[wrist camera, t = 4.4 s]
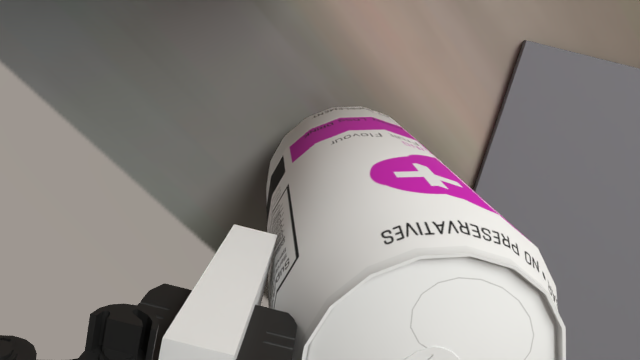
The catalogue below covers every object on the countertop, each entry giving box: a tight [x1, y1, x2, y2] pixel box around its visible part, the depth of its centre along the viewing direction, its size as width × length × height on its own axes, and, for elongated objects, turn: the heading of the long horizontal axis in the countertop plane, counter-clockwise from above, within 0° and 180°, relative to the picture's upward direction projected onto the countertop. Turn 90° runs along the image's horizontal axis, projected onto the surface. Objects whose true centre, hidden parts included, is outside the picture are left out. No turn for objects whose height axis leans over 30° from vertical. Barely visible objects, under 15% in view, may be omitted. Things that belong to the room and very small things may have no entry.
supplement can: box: [266, 107, 566, 360], centre depth 20 cm, size 8×8×15 cm
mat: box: [473, 40, 640, 360], centre depth 28 cm, size 18×16×1 cm
